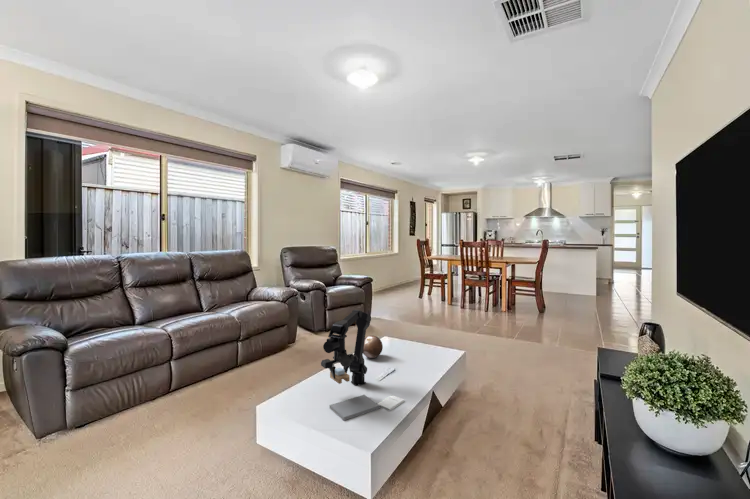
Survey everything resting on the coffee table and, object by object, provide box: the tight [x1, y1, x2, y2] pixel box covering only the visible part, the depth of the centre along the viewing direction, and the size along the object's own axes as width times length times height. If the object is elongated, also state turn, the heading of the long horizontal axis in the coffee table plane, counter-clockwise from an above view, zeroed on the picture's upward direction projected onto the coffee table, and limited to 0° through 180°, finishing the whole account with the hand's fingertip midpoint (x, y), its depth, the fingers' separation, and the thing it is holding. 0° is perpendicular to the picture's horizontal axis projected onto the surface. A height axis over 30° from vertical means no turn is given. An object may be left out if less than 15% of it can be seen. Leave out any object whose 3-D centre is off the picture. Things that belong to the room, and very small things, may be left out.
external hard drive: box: [376, 394, 405, 412], centre depth 172 cm, size 2×8×12 cm
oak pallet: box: [329, 371, 351, 385], centre depth 179 cm, size 6×10×3 cm, turn 34°
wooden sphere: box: [363, 335, 383, 359], centre depth 239 cm, size 15×15×15 cm
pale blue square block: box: [335, 367, 345, 375], centre depth 179 cm, size 4×4×2 cm
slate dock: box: [329, 394, 381, 421], centre depth 167 cm, size 20×14×2 cm
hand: (339, 377), depth 179 cm, fingers closed on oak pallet, 6 cm apart
